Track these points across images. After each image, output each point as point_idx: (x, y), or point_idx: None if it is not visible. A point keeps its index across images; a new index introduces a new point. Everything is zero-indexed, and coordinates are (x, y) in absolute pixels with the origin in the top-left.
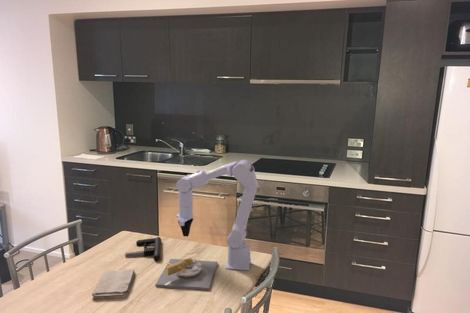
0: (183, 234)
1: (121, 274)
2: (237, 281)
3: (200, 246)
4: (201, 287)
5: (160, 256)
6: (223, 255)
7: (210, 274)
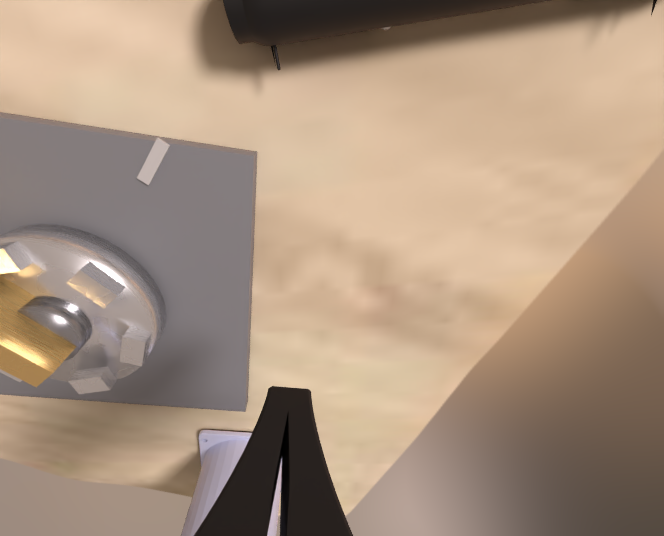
0: (264, 409)
1: None
2: (109, 456)
3: (469, 323)
4: None
5: (269, 45)
6: (339, 418)
7: (102, 392)
